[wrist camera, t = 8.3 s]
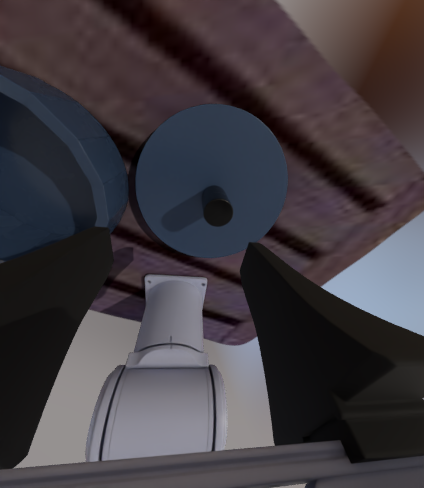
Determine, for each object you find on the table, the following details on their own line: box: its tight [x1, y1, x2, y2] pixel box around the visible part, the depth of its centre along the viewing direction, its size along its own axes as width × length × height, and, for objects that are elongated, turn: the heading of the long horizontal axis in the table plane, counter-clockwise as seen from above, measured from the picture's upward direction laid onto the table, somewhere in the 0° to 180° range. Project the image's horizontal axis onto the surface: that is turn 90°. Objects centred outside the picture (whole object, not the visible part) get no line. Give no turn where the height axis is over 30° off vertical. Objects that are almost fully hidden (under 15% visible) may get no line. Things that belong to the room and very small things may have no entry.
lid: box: [135, 104, 288, 258], centre depth 17 cm, size 15×15×5 cm
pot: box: [0, 66, 129, 263], centre depth 14 cm, size 14×14×5 cm
